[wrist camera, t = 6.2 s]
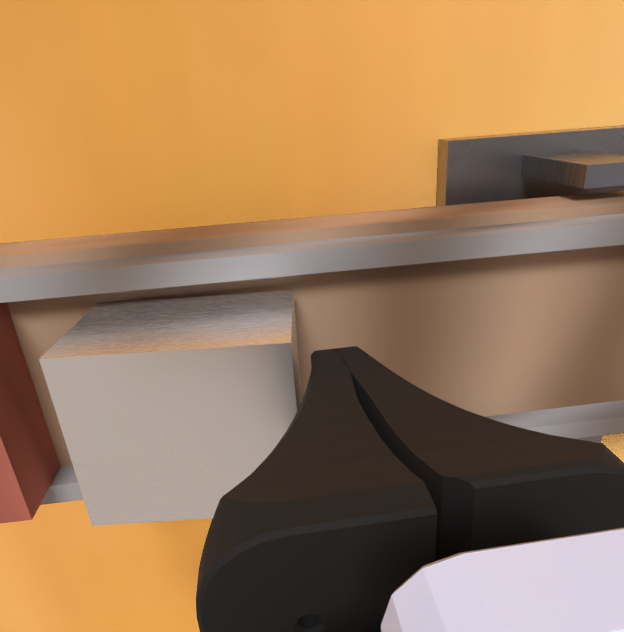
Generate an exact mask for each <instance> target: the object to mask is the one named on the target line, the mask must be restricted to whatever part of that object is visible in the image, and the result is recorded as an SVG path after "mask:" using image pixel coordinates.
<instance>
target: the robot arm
mask: <svg viewBox="0 0 624 632" xmlns="http://www.w3.org/2000/svg"><path fill="white" fill-rule="evenodd" d="M196 611H197V620H198V624H199V629H200V632H624V463H623V462H622V461H621V460H620V459H619V458H618V457H617V456H616V455H615V454H613V453H612V452H611V451H610V450H609V449H608V448H607V447H606V446H605V445H603V444H602V443H596V442H591V441H585V440H579V439H573V438H567V437H561V436H555V435H549V434H545V433H540V432H536V431H532V430H528V429H524V428H520V427H516V426H512V425H509V424H505V423H502V422H498V421H495V420H492V419H490V418H487V417H484V416H481V415H478V414H475V413H472V412H470V411H467V410H464V409H462V408H459V407H457V406H455V405H453V404H450V403H448V402H446V401H444V400H442V399H439V398H437V397H435V396H433V395H431V394H429V393H427V392H426V391H424V390H422V389H420V388H419V387H417V386H415V385H413V384H412V383H410V382H408V381H407V380H405V379H403V378H402V377H400V376H399V375H397V374H396V373H394V372H393V371H391V370H390V369H388V368H387V367H385V366H384V365H382V364H381V363H380V362H378V361H377V360H375V359H374V358H373V357H371V356H370V355H369V354H367V353H366V352H364V351H363V350H362V349H360V348H359V347H357V346H352V347H343V348H335V349H326V350H317V351H314V352H313V353H312V354H311V374H310V378H309V381H308V385H307V389H306V392H305V394H304V397H303V399H302V402H301V404H300V406H299V409H298V411H297V413H296V415H295V417H294V419H293V421H292V422H291V424H290V426H289V428H288V429H287V431H286V432H285V434H284V435H283V437H282V438H281V440H280V441H279V443H278V444H277V445H276V447H275V448H274V449H273V451H272V452H271V453H270V454H269V455H268V457H267V458H266V459H265V460H264V461H263V462H262V463H261V464H260V465H259V466H258V467H257V468H256V469H255V471H254V472H253V473H251V474H250V475H249V476H248V477H247V478H245V479H244V480H243V481H242V482H240V483H239V484H238V485H237V486H235V487H234V488H233V489H232V490H230V491H229V492H228V493H226V494H225V495H223V496H222V498H221V499H220V501H219V503H218V506H217V508H216V511H215V514H214V516H213V519H212V522H211V525H210V528H209V531H208V534H207V537H206V541H205V545H204V549H203V553H202V557H201V561H200V567H199V574H198V584H197V594H196Z"/></svg>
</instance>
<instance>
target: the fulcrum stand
mask: <svg viewBox="0 0 624 632" xmlns="http://www.w3.org/2000/svg"><path fill="white" fill-rule="evenodd" d="M613 191H624V125H622V126H609V127H596V128H583V129H570V130H557V131H544V132H530V133H517V134H504V135H491V136H478V137H465V138H452V139H439V147H438V174H437V201H436V206H448V205H460V204H472V203H483V202H495V201H507V200H519V199H530V198H542V197H554V196H566V195H577V194H589V193H601V192H613ZM601 438H602V436H594V437H586V438H578V439H579V440H585V441H591V442H596V443H600V442H601Z"/></svg>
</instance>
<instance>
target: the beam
mask: <svg viewBox="0 0 624 632" xmlns="http://www.w3.org/2000/svg"><path fill="white" fill-rule="evenodd" d="M277 291H293V293H294V305H295V317H296V329H297V341H298V353H299V365H300V377H301V390H302V399H303V397H304V394H305V392H306V389H307V385H308V381H309V378H310V374H311V354H312V353H313V352H314V351H317V350H326V349H335V348H343V347H352V346H357V347H359V348H360V349H362V350H363V351H364V352H366V353H367V354H369V355H370V356H371V357H373V358H374V359H375V360H377V361H378V362H380V363H381V364H382V365H384V366H385V367H387V368H388V369H390V370H391V371H393V372H394V373H396V374H397V375H399V376H400V377H402V378H403V379H405V380H407V381H408V382H410V383H412V384H413V385H415V386H417V387H419V388H420V389H422V390H424V391H426V392H427V393H429V394H431V395H433V396H435V397H437V398H439V399H442V400H444V401H446V402H448V403H450V404H453V405H455V406H457V407H459V408H462V409H464V410H467V411H470V412H472V413H475V414H478V415H481V416H484V417H487V418H490V419H492V420H495V421H498V422H502V423H505V424H509V425H512V426H516V427H520V428H524V429H528V430H532V431H536V432H540V433H545V434H549V435H555V436H561V437H567V438H573V439H578V438H586V437H594V436H602V435H610V434H618V433H624V191H613V192H601V193H589V194H577V195H566V196H554V197H542V198H530V199H519V200H507V201H495V202H483V203H472V204H460V205H448V206H436V207H424V208H413V209H401V210H389V211H377V212H366V213H354V214H342V215H330V216H318V217H307V218H295V219H283V220H271V221H260V222H248V223H236V224H224V225H213V226H201V227H189V228H177V229H165V230H154V231H142V232H130V233H118V234H107V235H95V236H83V237H71V238H59V239H48V240H36V241H24V242H12V243H1V244H0V523H8V522H16V521H24V520H32V518H33V517H34V515H35V513H36V511H37V509H38V507H39V506H40V505H42V504H51V503H59V502H67V501H75V500H83V496H82V493H81V490H80V486H79V483H78V480H77V477H76V474H75V471H74V468H73V464H72V461H71V458H70V455H69V452H68V449H67V446H66V442H65V439H64V436H63V433H62V430H61V427H60V424H59V420H58V417H57V414H56V411H55V408H54V405H53V402H52V398H51V395H50V392H49V389H48V386H47V383H46V380H45V376H44V373H43V370H42V367H41V364H40V361H39V359H40V358H41V357H42V356H43V355H44V354H45V353H46V352H47V351H48V350H49V349H50V348H51V347H52V346H53V345H54V344H55V343H56V342H57V341H58V340H59V339H60V338H61V337H63V336H64V335H65V334H66V333H67V332H68V331H69V330H70V329H71V328H72V327H73V326H74V325H75V324H76V323H77V322H78V321H79V320H80V319H81V318H82V317H83V316H84V315H85V314H87V313H88V312H89V311H90V310H91V309H92V308H93V307H94V306H95V305H96V304H97V303H109V302H124V301H140V300H155V299H170V298H186V297H201V296H216V295H231V294H247V293H262V292H277Z"/></svg>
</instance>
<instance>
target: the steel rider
mask: <svg viewBox="0 0 624 632" xmlns="http://www.w3.org/2000/svg"><path fill="white" fill-rule="evenodd" d="M39 361H40V364H41V367H42V370H43V373H44V376H45V380H46V383H47V386H48V389H49V392H50V395H51V398H52V402H53V405H54V408H55V411H56V414H57V417H58V420H59V424H60V427H61V430H62V433H63V436H64V439H65V442H66V446H67V449H68V452H69V455H70V458H71V461H72V464H73V468H74V471H75V474H76V477H77V480H78V483H79V486H80V490H81V493H82V496H83V499H84V502H85V505H86V508H87V512H88V515H89V518H90V521H91V524H92V526H95V525H111V524H127V523H143V522H159V521H175V520H191V519H207V518H213V516H214V514H215V511H216V508H217V506H218V503H219V501H220V499H221V498H222V496H223V495H225V494H226V493H228V492H229V491H230V490H232V489H233V488H234V487H235V486H237V485H238V484H239V483H240V482H242V481H243V480H244V479H245V478H247V477H248V476H249V475H250V474H251V473H253V472H254V471H255V469H256V468H257V467H258V466H259V465H260V464H261V463H262V462H263V461H264V460H265V459H266V458H267V457H268V455H269V454H270V453H271V452H272V451H273V449H274V448H275V447H276V445H277V444H278V443H279V441H280V440H281V438H282V437H283V435H284V434H285V432H286V431H287V429H288V428H289V426H290V424H291V422H292V421H293V419H294V417H295V415H296V413H297V411H298V409H299V406H300V404H301V402H302V390H301V377H300V365H299V353H298V341H297V329H296V317H295V305H294V293H293V291H277V292H262V293H247V294H231V295H216V296H201V297H186V298H170V299H155V300H140V301H124V302H109V303H97V304H96V305H95V306H94V307H93V308H92V309H91V310H90V311H89V312H88V313H87V314H85V315H84V316H83V317H82V318H81V319H80V320H79V321H78V322H77V323H76V324H75V325H74V326H73V327H72V328H71V329H70V330H69V331H68V332H67V333H66V334H65V335H64V336H63V337H61V338H60V339H59V340H58V341H57V342H56V343H55V344H54V345H53V346H52V347H51V348H50V349H49V350H48V351H47V352H46V353H45V354H44V355H43V356H42V357H41V358H40V359H39Z"/></svg>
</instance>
